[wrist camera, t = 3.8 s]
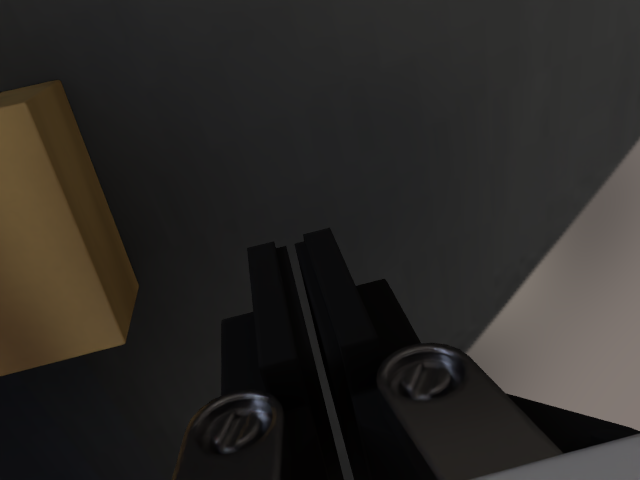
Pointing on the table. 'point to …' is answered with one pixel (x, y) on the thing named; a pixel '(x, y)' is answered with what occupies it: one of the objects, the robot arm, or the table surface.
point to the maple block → (55, 238)
